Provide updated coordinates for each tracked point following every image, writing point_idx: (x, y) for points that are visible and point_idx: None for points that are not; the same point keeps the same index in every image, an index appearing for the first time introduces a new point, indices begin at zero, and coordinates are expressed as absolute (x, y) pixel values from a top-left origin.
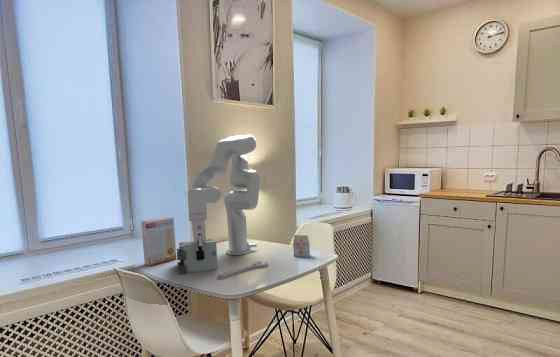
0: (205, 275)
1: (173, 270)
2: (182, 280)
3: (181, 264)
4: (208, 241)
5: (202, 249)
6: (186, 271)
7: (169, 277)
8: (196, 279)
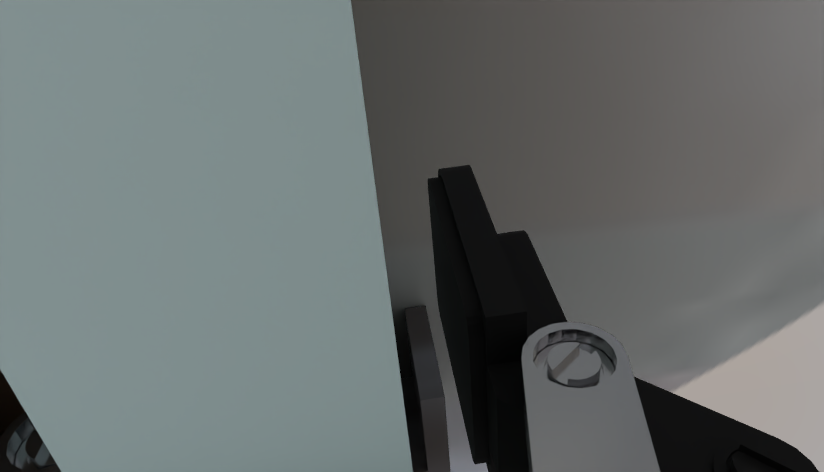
0: (666, 35)
1: None
2: (698, 317)
3: None
4: (96, 387)
5: (620, 377)
6: (427, 329)
7: None
8: (773, 160)
